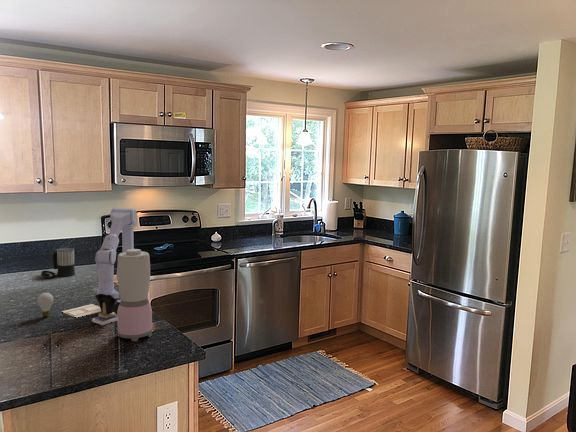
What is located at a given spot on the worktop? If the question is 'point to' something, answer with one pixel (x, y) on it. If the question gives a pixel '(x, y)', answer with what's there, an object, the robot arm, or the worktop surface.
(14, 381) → the worktop surface
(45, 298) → the light bulb
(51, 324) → the worktop surface
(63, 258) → the milk frother
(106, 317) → the stamp
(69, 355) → the worktop surface
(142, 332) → the blender
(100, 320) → the ink pad
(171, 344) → the worktop surface
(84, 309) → the card sheet
